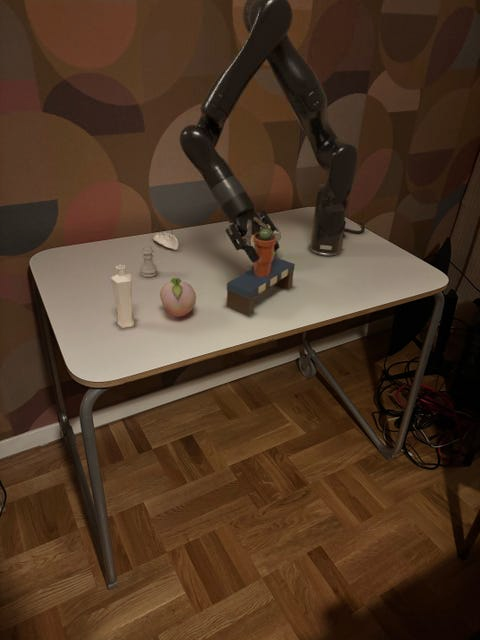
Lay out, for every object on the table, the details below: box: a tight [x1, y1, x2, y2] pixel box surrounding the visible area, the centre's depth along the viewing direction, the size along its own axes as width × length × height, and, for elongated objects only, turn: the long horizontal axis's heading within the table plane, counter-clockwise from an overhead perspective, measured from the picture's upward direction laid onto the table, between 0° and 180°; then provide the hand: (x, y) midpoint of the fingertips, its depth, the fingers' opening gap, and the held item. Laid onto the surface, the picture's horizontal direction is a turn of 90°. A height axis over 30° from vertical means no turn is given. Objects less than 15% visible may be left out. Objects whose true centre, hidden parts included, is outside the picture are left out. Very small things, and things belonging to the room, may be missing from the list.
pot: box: [252, 229, 277, 277], centre depth 125 cm, size 6×6×12 cm
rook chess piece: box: [140, 245, 158, 278], centre depth 138 cm, size 4×4×8 cm
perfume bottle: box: [110, 264, 135, 329], centre depth 115 cm, size 5×4×15 cm
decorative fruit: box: [159, 277, 197, 317], centre depth 120 cm, size 9×8×10 cm
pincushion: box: [152, 225, 180, 251], centre depth 155 cm, size 12×6×6 cm, turn 38°
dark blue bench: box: [226, 256, 296, 317], centre depth 130 cm, size 20×7×7 cm, turn 142°
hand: (267, 255), depth 125 cm, fingers open, 8 cm apart
